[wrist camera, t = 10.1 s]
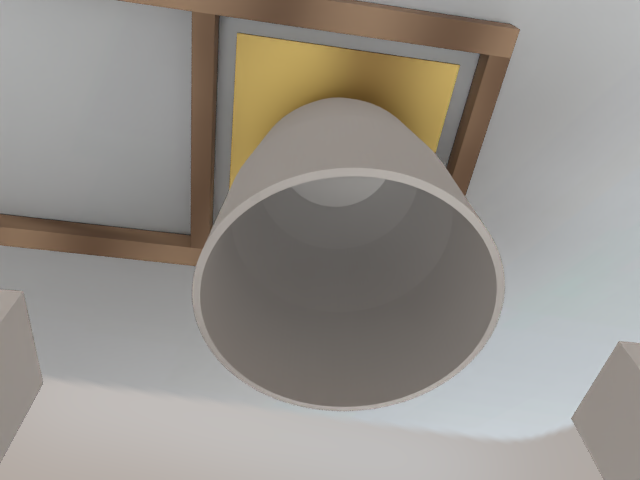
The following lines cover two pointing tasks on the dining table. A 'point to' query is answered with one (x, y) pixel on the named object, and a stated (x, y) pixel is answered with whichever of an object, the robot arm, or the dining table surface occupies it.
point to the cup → (346, 265)
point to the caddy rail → (301, 102)
